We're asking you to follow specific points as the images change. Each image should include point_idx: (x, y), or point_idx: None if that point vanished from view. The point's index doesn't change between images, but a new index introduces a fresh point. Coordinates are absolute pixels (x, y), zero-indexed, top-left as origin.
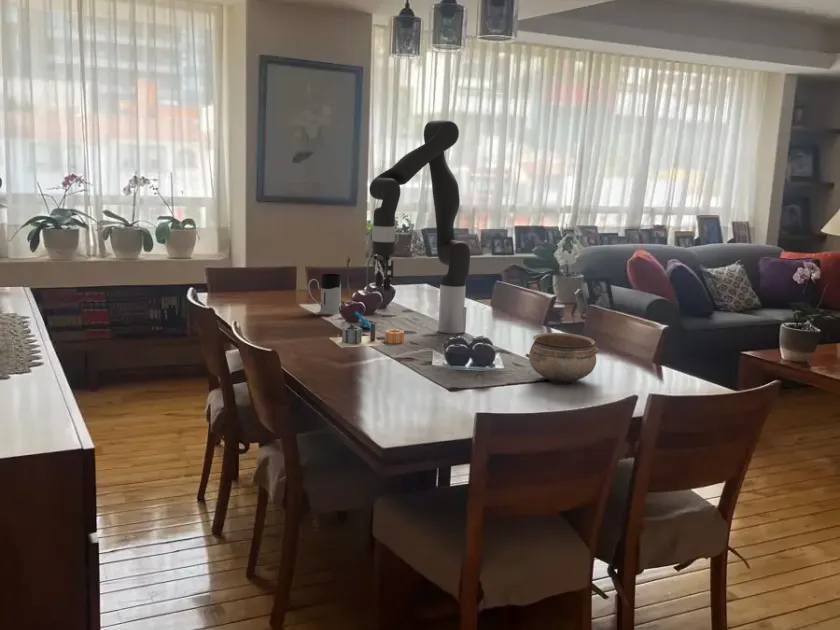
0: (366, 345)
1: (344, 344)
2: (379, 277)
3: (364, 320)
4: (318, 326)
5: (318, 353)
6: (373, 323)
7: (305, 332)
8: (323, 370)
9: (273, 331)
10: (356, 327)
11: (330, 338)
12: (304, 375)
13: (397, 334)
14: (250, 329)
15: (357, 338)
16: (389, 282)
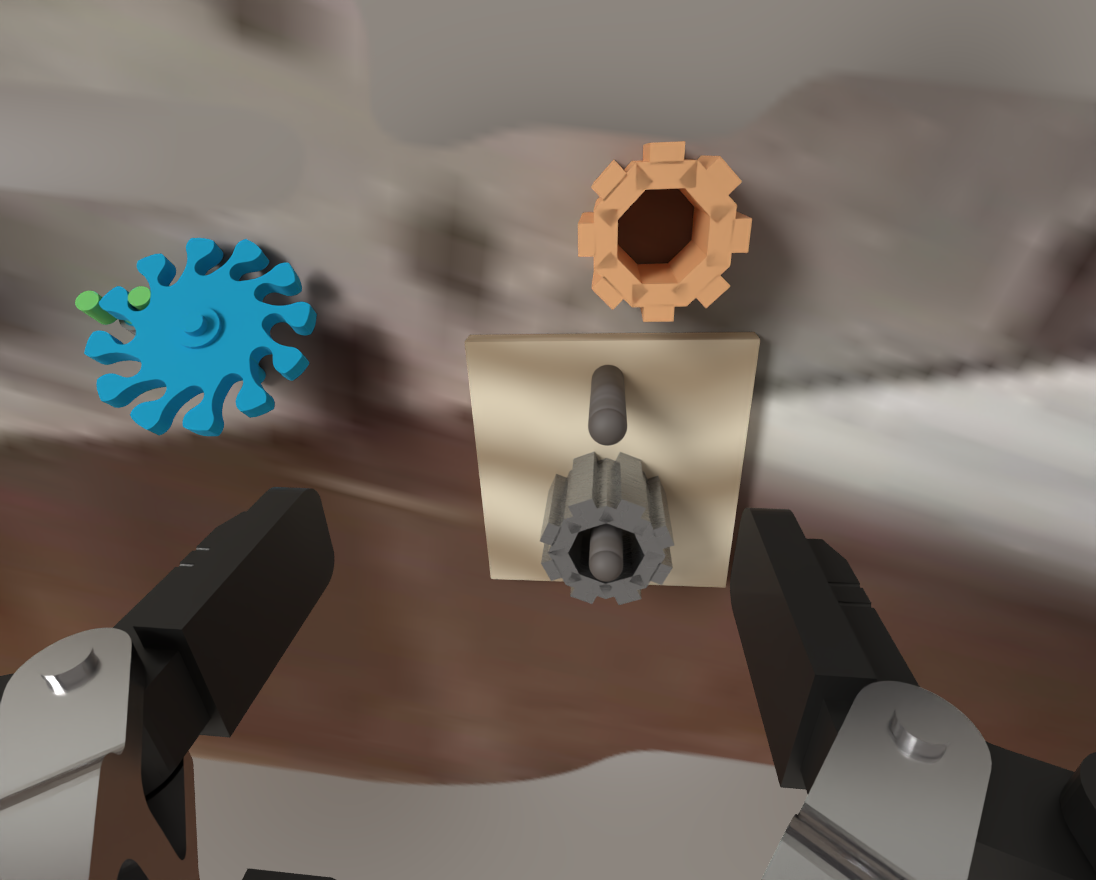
0: (728, 455)
1: None
2: (229, 648)
3: (251, 362)
4: (134, 522)
5: (728, 662)
6: (615, 433)
7: None
8: (1029, 716)
9: (276, 704)
10: (585, 523)
11: (507, 577)
12: None
13: (747, 239)
14: (246, 756)
15: (667, 507)
16: (898, 654)
